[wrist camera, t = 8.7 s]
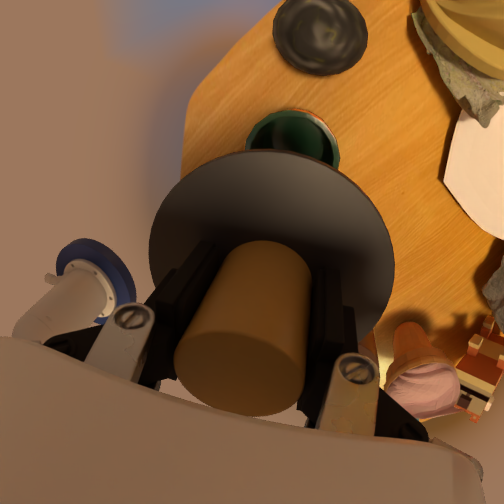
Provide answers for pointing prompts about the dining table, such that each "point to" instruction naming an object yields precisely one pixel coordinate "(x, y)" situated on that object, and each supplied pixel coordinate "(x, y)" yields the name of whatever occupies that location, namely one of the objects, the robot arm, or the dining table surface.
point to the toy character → (480, 371)
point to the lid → (267, 270)
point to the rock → (461, 76)
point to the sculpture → (471, 31)
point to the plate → (479, 170)
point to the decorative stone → (320, 35)
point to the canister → (296, 135)
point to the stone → (496, 295)
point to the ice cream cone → (421, 375)
